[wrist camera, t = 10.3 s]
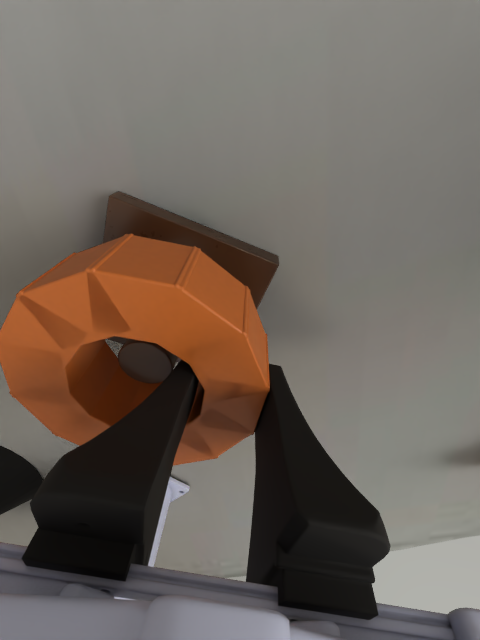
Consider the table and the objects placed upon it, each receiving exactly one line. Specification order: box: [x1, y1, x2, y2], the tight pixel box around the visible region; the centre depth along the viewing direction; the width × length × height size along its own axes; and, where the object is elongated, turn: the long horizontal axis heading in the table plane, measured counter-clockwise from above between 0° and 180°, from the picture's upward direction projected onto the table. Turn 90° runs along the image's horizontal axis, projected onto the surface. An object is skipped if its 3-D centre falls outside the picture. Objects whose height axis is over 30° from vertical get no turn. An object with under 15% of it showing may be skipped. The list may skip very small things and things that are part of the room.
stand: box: [103, 191, 279, 384], centre depth 16 cm, size 9×9×6 cm
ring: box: [0, 234, 270, 465], centre depth 13 cm, size 10×10×3 cm
